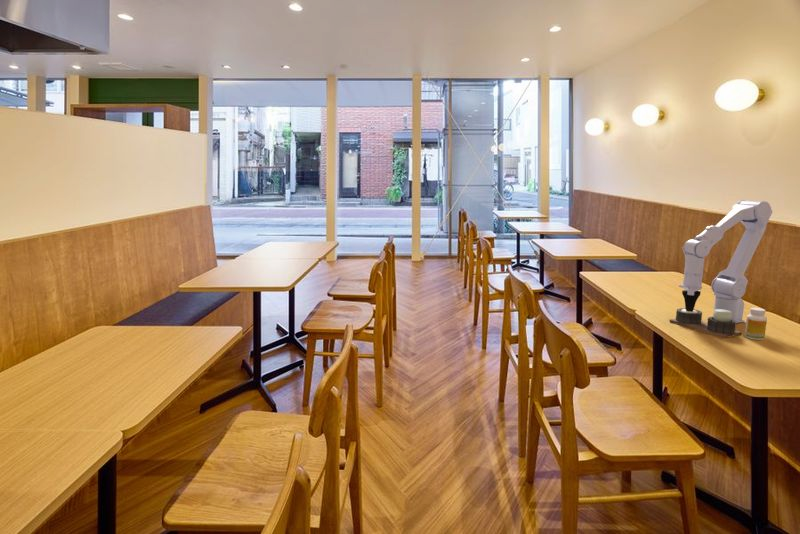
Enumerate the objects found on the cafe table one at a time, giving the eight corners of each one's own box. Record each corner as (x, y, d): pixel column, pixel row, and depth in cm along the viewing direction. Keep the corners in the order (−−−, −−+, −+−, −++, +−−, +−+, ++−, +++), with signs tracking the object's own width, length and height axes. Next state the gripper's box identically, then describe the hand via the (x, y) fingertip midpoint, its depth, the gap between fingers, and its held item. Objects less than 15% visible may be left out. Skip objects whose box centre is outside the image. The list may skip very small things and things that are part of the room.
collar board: (686, 319, 188) (688, 307, 187) (741, 334, 170) (742, 321, 169) (669, 321, 184) (670, 309, 184) (722, 337, 166) (724, 324, 165)
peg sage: (719, 318, 174) (720, 308, 174) (734, 322, 170) (735, 312, 169) (709, 320, 172) (710, 310, 172) (723, 324, 168) (725, 313, 167)
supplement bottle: (767, 340, 163) (771, 311, 161) (748, 339, 164) (752, 310, 163) (759, 335, 168) (763, 307, 167) (741, 334, 169) (744, 306, 168)
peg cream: (686, 317, 186) (687, 308, 185) (699, 321, 181) (700, 311, 180) (677, 319, 184) (678, 309, 183) (689, 323, 179) (690, 313, 178)
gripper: (681, 269, 187) (678, 305, 190) (679, 275, 175) (675, 314, 178) (703, 271, 184) (699, 307, 186) (702, 278, 172) (698, 317, 174)
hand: (689, 311), depth 182 cm, fingers closed, pressing on peg cream
